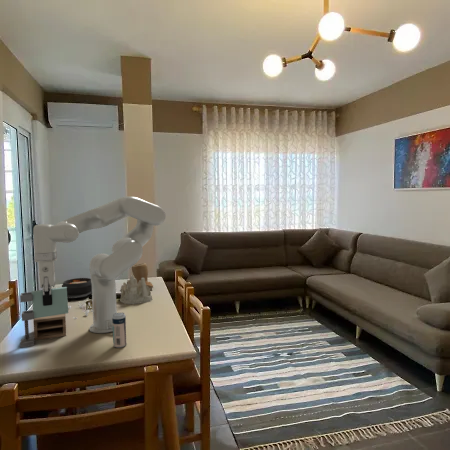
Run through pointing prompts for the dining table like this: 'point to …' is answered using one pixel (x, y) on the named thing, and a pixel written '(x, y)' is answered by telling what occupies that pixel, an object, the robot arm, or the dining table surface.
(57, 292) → the door
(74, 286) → the casserole
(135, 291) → the grey castle model
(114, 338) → the beer can
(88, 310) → the game piece set
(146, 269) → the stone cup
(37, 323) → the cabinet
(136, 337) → the dining table surface
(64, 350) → the dining table surface
